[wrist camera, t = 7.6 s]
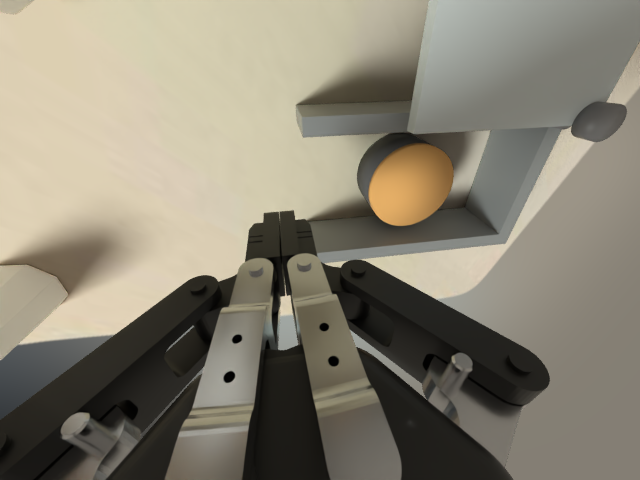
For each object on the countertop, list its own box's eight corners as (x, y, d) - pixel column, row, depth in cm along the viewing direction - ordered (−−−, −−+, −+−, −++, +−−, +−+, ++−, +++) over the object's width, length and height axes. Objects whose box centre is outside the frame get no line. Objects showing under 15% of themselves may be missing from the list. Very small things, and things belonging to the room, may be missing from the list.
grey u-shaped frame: (295, 101, 17) (302, 114, 13) (518, 93, 19) (587, 102, 15) (303, 231, 23) (310, 268, 19) (472, 215, 24) (512, 246, 20)
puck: (359, 134, 19) (375, 147, 16) (436, 130, 19) (464, 142, 17) (354, 207, 22) (366, 229, 19) (419, 202, 23) (441, 222, 20)
